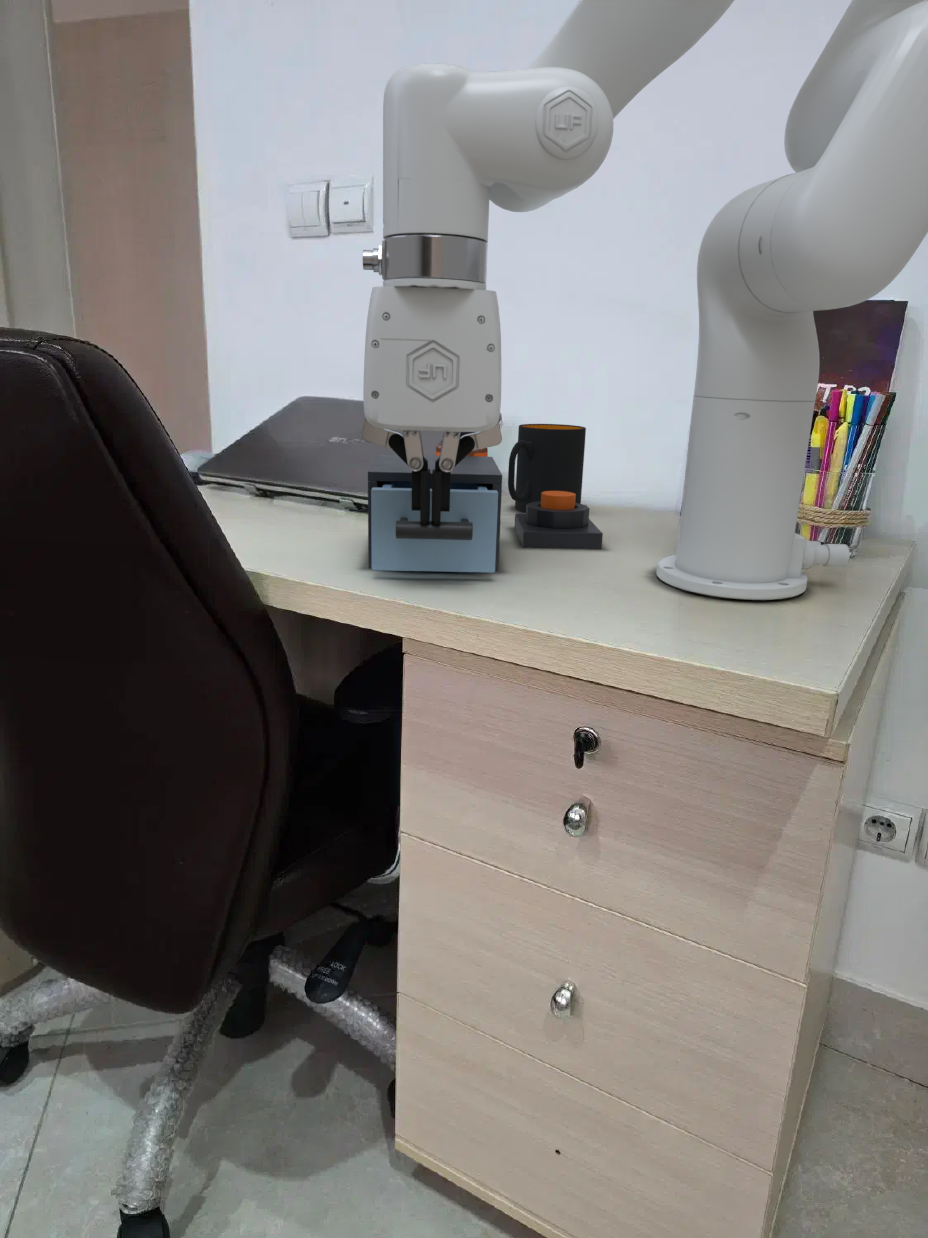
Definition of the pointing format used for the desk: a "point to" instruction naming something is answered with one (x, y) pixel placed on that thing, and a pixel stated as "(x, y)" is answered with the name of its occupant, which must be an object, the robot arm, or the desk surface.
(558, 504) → the release button
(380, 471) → the drawer cabinet
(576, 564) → the desk surface
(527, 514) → the panel
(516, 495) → the mug
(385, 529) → the light blue drawer
